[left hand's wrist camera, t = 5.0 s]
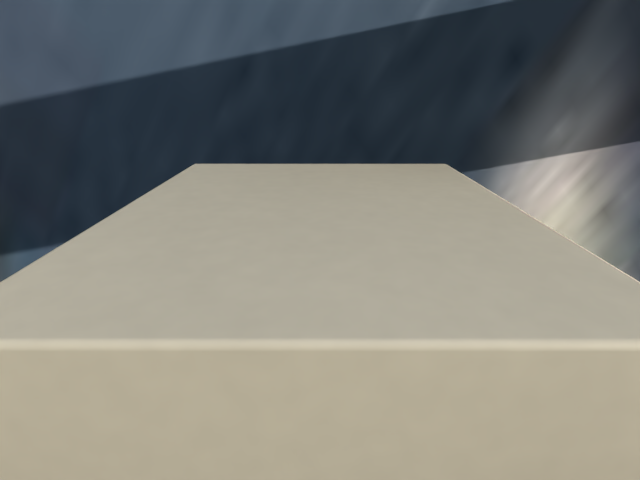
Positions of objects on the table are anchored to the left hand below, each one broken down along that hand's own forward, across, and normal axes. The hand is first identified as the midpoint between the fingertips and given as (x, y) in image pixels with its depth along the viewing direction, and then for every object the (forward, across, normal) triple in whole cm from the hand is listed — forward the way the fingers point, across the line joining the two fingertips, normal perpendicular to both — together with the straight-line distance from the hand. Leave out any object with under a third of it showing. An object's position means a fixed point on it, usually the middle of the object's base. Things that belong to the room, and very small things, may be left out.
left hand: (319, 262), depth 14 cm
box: (+1, 0, -10) cm, 10 cm away
